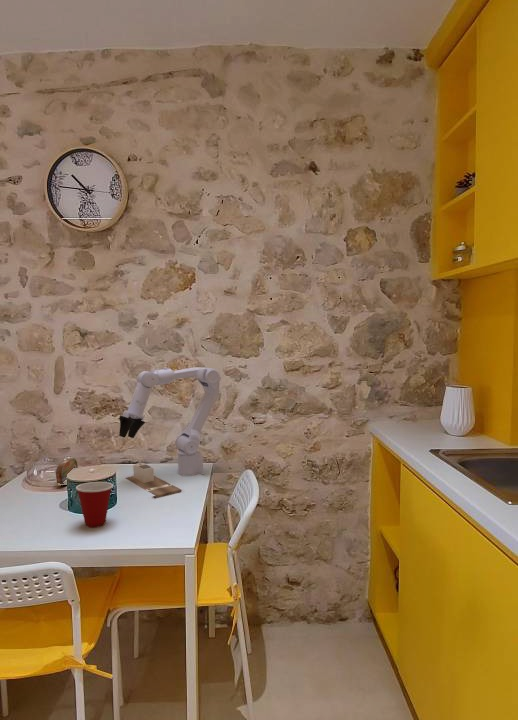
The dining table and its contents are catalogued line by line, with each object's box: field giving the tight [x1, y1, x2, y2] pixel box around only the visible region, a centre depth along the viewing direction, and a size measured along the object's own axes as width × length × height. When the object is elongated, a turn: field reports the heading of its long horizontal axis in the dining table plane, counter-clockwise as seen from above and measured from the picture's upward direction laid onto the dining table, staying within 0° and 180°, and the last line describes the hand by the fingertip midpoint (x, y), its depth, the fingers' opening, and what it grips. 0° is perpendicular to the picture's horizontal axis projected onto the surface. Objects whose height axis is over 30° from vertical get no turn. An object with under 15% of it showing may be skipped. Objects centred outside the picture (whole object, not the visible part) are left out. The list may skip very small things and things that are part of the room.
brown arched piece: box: [55, 458, 79, 484], centre depth 191 cm, size 15×3×8 cm, turn 179°
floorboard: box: [125, 475, 182, 499], centre depth 186 cm, size 10×26×1 cm, turn 39°
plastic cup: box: [75, 481, 114, 528], centre depth 151 cm, size 11×11×12 cm
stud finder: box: [132, 462, 155, 483], centre depth 191 cm, size 4×9×5 cm, turn 38°
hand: (126, 437), depth 185 cm, fingers open, 7 cm apart
